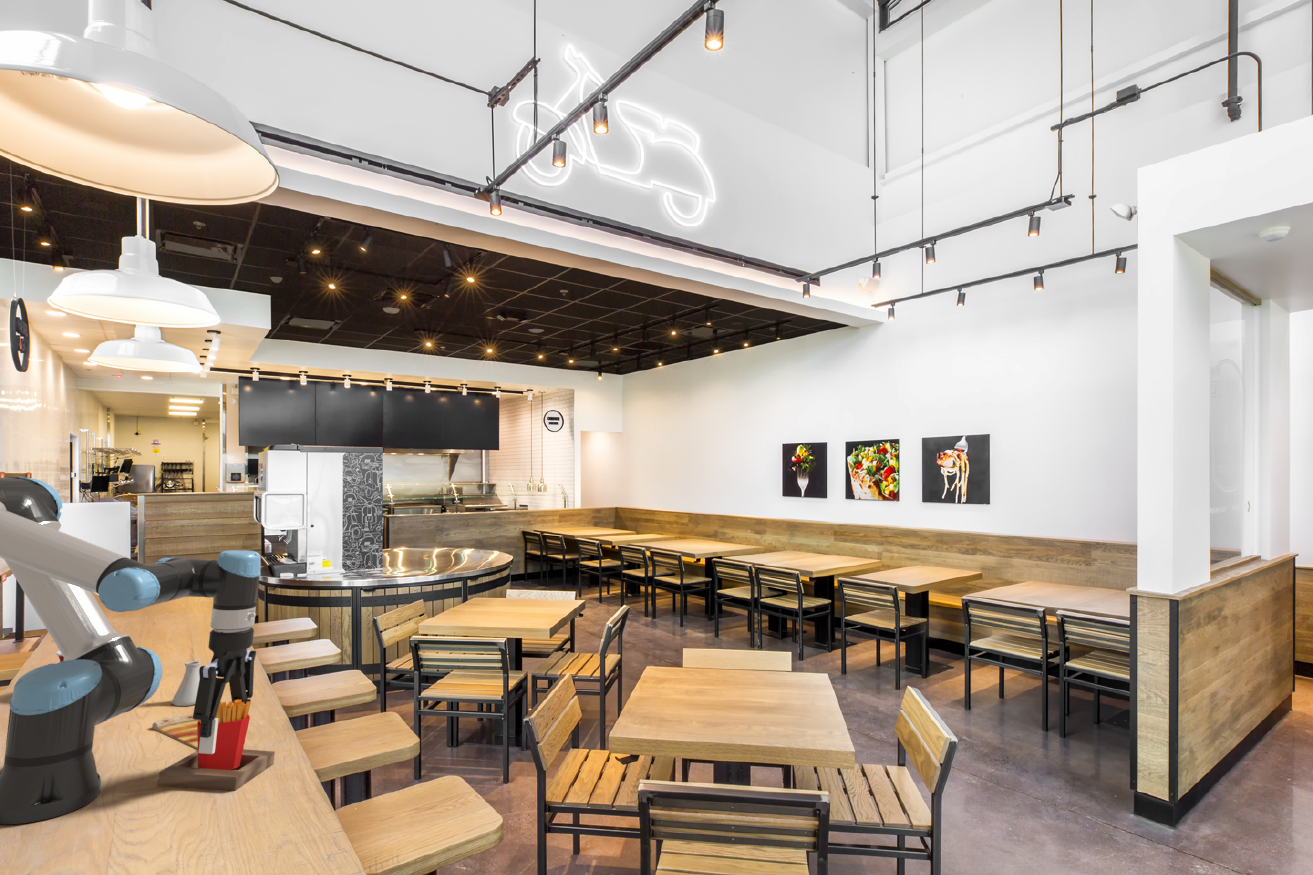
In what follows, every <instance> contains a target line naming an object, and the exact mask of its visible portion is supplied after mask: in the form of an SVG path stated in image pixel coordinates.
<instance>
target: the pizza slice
mask: <svg viewBox="0 0 1313 875" xmlns="http://www.w3.org/2000/svg"><path fill="white" fill-rule="evenodd" d="M197 722H198V720H197V719H193V714H189V715H182V716H175V717H172V718H167V719H162V720H157V721H154V722H153V723H152V726H151V728H152V729H153V730H155V731H157V732H160V733H162V734H164V735H165V736H168V737H170V738H172V739H175V740H176V741H179V742H180V743H183V744H185V745H188V746H190V747H192V748H194V749H196V750H198V733H197Z"/></svg>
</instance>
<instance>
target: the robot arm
mask: <svg viewBox="0 0 1313 875" xmlns="http://www.w3.org/2000/svg"><path fill="white" fill-rule="evenodd" d="M62 509H63V501H62V498H61V496H60V494H59V493H58V492H57V490H56V489H55V487H53V486H52V485H50V484H48V483H47V482H46V481H43V480H39V479H37V478H31V477H29V478H28V477H23V476H7V477H0V559H3V560H4V562H5V563H6V565H7V566H8V568H9V569H10V571H11V573H12V574H13V577H14V578H15V579H16V581H17V583H18V584H19V586H20V588H21V589H22V591H23V592H24V595H25V596H26V597H27V599H28V601H29V603H30V604H31V605H32V608H33V610H34V611H35V612H36V615H37V616H38V617H39V619H40V621H41V622H42V624H43V625H44V627H45V629H46V630H47V632H48V634H49V635H50V637H51V639H52V640H53V642H54V644H55V645H56V647H57V648H58V650H60V652H61V654H62V655H63V657H64V661H62V662H60V661H59V662H57V663H48V664H46V665H41V666H39V667H36V668H33V669H31V670H30V671H28V672H26V673H24V674H23V675H22V676H20V677H19V678H18V679H17V681H16V682H15V684H14V686H13V690H12V695H11V697H10V700H9V714H8V715H9V716H8V724H7V732H6V743H5V744H6V745H5V752H4V754H5V755H4V761H3V762H4V763H3V767H2V769H1V770H0V825H17V824H19V825H21V824H27V823H33V822H34V823H35V822H40V821H44V820H48V819H52V818H56V817H60V816H63V815H66V814H68V813H71V812H74V811H76V810H78V809H81V808H83V807H85V806H86V805H88V804H90V803H91V802H93V801H94V800H95V799H96V798H98V796H99V795H100V792H101V784H102V778H101V776H100V774H99V772H98V771H97V765H96V760H95V756H94V753H93V747H94V746H93V745H94V738H95V737H94V736H95V728H96V726H97V725H100V724H102V723H104V722H106V721H108V720H110V719H113V718H115V717H117V716H119V715H121V714H124V713H128V712H130V711H133V710H134V709H136V708H137V707H139V706H140V705H143V704H144V703H146V702H147V701H148V700H149V699H151V698H152V697H153V696H154V695H155V693H156V692H157V690H158V689H159V687H160V683H161V681H162V678H163V664H162V661H161V659H160V657H159V656H158V654H156V653H155V652H154V651H153V650H152V649H150V648H145V647H141V646H136V644H135V643H134V641H133V640H132V637H131V636H130V635H129V634H125V633H118V632H117V631H116V630H115V629H114V627H113V626H112V624H111V622H110V621H109V619H108V617H107V616H106V614H105V613H104V611H103V609H102V607H100V605H99V603H98V601H97V599H96V598H95V596H94V595H98V599H99V601H100V603H102V604H103V605H104V608H106V609H108V610H109V611H112V612H117V613H125V612H135V611H140V610H142V609H145V608H148V607H151V606H155V605H159V604H162V603H163V604H164V603H166V602H171V601H175V600H178V599H182V598H183V599H184V598H189V597H192V598H194V597H195V598H210V599H211V598H213V599H212V600H213V601H212V602H213V603H212V611H211V612H212V613H211V618H210V619H211V620H210V628H211V629H212V630H211V631H210V632H209V637H208V638H209V639H208V645H207V646H208V649H209V650H210V651H212V652H213V654H212V658H211V660H210V663H209V664H208V665H201V666H199V675H200V680H199V686H198V691H197V696H196V702H195V704H194V709H193V714H192V715H193V719H197V720H201V730H200V744H199V753H205V754H213V753H215V746H216V737H217V728H218V718H215V717H216V714H217V710H218V707H219V704H220V702H222V701H221V700H222V697H223V695H224V691H225V688H226V685H227V683H229V691H230V692H229V693H230V697H231V702H232V701H233V704H234V701H235V700H238V699H239V700H241V699H242V702H244V705H245V704H246V702H249V701H251V699H252V697H253V695H254V672H255V671H254V669H255V660H256V655H257V651H256V650H250V649H249V648H251V647H252V646H253V643H254V634H255V632H254V631H255V630H254V628H253V627H254V626H255V621H256V619H255V618H256V616H257V614H256V609H257V608H256V607H257V602H258V601H257V599H258V594H259V593H258V592H259V583H260V577H261V575H262V574H261V561H262V560H261V554H260V553H259V552H257V551H255V550H247V549H245V550H241V549H240V550H238V549H235V550H234V549H233V550H232V549H231V550H224V551H221V552H220V553H219V554H218V556H217V559H202V558H188V557H187V558H186V557H183V556H179V557H176V556H175V557H162V558H160V559H158V560H157V561H156V562H155V563H153V564H145V563H142V562H140V561H137V560H134V559H131V558H129V557H127V556H124V555H122V554H119V553H117V552H114V551H111V550H109V549H106V548H104V547H102V546H99V545H96V544H93V543H91V542H88V541H86V540H83V539H80V538H78V537H76V536H73V535H70V534H67V533H66V532H62V531H60V529H61V527H62V523H61V522H60V518H61V515H62V512H61V510H62ZM248 649H249V650H248ZM251 702H252V701H251ZM233 704H232V705H233Z"/></svg>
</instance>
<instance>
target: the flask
mask: <svg viewBox="0 0 1313 875" xmlns="http://www.w3.org/2000/svg"><path fill="white" fill-rule="evenodd" d="M201 663H202V661H199V660H192V661H187V662H185V663H184V666H185V672H184V675H183V678H182V680H181V682H180V684H179V686H178V688H177V691H176V693H175V694H174V696H173V698H172V700H171V701H170V704H172V705H174V706H178V707H179V706H181V707H188V706H189V707H190V706H193V705H194V706H195V702H196V696H197V691H198V686H199V680H200V675H199V669H200V665H201Z"/></svg>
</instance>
